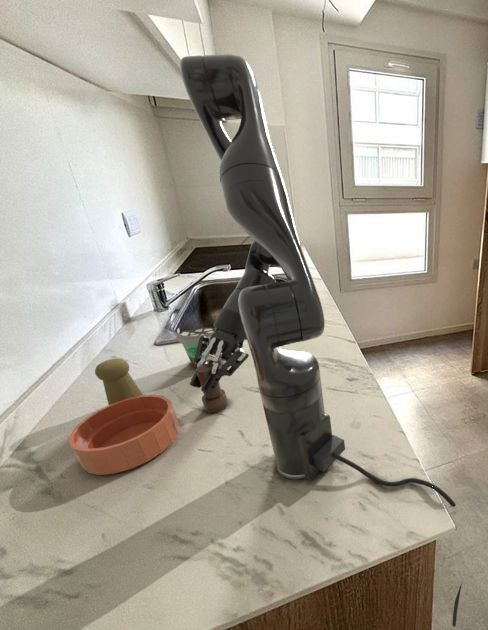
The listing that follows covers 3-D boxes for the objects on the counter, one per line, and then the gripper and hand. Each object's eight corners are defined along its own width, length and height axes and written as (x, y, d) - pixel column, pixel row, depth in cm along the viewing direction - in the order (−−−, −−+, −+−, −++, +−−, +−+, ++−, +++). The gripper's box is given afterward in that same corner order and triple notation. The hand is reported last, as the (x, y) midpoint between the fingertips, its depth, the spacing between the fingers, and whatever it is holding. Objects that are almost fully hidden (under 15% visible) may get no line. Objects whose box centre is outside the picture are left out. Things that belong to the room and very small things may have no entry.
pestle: (232, 403, 73) (222, 365, 69) (213, 415, 69) (200, 376, 65) (220, 397, 75) (209, 359, 71) (200, 408, 71) (187, 370, 67)
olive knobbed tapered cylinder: (104, 408, 71) (83, 365, 66) (137, 392, 76) (119, 351, 71) (118, 418, 68) (97, 373, 64) (151, 401, 73) (134, 359, 68)
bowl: (196, 433, 65) (187, 409, 62) (106, 490, 53) (92, 464, 51) (156, 409, 71) (147, 386, 68) (68, 456, 59) (53, 431, 57)
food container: (178, 374, 82) (165, 339, 78) (186, 361, 88) (175, 328, 83) (232, 368, 85) (223, 334, 81) (237, 355, 91) (229, 323, 86)
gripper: (206, 300, 72) (163, 375, 68) (249, 314, 66) (205, 397, 62) (234, 314, 79) (196, 383, 74) (275, 327, 73) (237, 403, 68)
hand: (200, 388), depth 68 cm, fingers closed on pestle, 3 cm apart
